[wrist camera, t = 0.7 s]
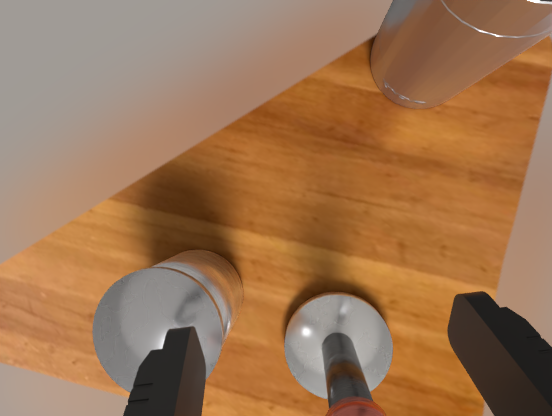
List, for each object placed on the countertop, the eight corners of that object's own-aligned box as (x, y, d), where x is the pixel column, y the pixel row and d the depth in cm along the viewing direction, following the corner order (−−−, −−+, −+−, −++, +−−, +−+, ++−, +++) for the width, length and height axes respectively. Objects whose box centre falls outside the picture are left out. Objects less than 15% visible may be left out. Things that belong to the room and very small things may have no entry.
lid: (318, 272, 32) (328, 325, 19) (409, 326, 32) (484, 418, 19) (266, 358, 33) (242, 465, 20) (355, 412, 33) (390, 559, 19)
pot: (181, 229, 33) (131, 244, 24) (262, 278, 33) (246, 313, 23) (136, 309, 34) (70, 355, 24) (215, 358, 33) (180, 424, 24)
